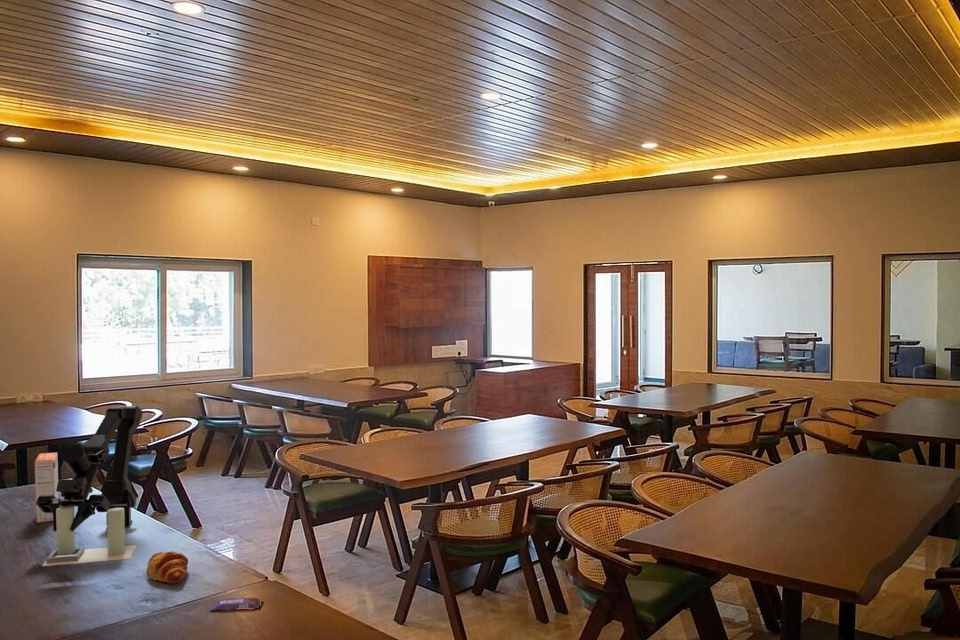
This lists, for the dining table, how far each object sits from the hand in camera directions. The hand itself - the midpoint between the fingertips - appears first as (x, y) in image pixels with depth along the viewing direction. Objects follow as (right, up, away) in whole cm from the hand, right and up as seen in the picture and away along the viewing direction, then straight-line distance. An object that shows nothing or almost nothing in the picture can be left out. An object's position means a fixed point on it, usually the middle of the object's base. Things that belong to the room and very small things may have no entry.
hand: (62, 530), depth 206 cm
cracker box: (-31, -8, +45) cm, 55 cm away
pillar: (0, -7, +1) cm, 7 cm away
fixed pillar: (+12, -8, +5) cm, 16 cm away
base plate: (+6, -9, +3) cm, 11 cm away
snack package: (+59, -10, -30) cm, 67 cm away
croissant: (+33, -9, -9) cm, 36 cm away
